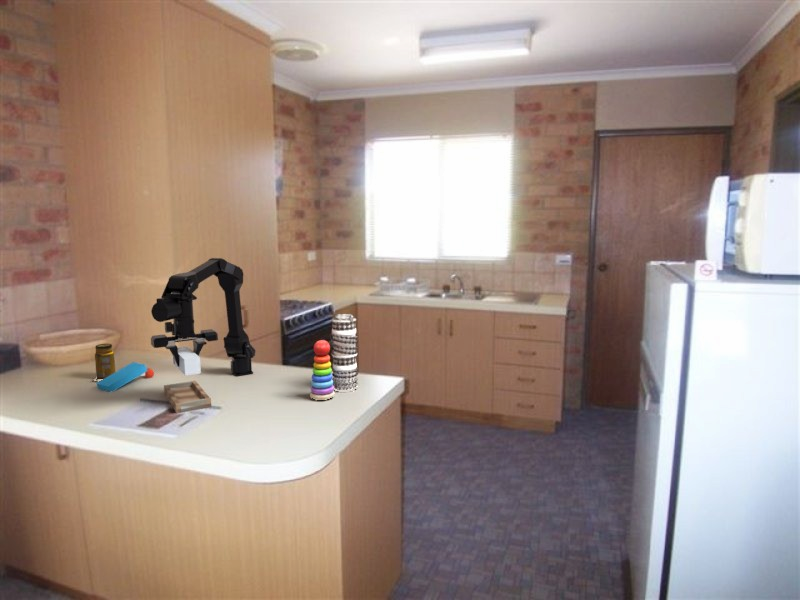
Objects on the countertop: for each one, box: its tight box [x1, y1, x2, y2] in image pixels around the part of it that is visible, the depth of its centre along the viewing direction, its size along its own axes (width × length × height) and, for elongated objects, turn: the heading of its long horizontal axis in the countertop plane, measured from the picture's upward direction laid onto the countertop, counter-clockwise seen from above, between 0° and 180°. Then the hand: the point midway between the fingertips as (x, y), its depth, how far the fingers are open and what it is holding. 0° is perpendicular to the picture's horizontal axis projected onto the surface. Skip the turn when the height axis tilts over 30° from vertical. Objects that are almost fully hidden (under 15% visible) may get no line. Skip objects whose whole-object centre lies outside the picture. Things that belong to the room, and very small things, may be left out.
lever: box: [95, 361, 155, 393], centre depth 189 cm, size 7×7×18 cm
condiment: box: [90, 343, 116, 383], centre depth 194 cm, size 7×8×12 cm
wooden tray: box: [163, 380, 212, 414], centre depth 172 cm, size 21×10×2 cm, turn 32°
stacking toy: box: [309, 339, 336, 401], centre depth 173 cm, size 8×8×19 cm
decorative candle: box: [329, 313, 359, 390], centre depth 181 cm, size 9×9×25 cm
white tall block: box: [172, 346, 202, 376], centre depth 170 cm, size 16×4×5 cm, turn 34°
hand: (186, 365), depth 171 cm, fingers closed on white tall block, 4 cm apart
